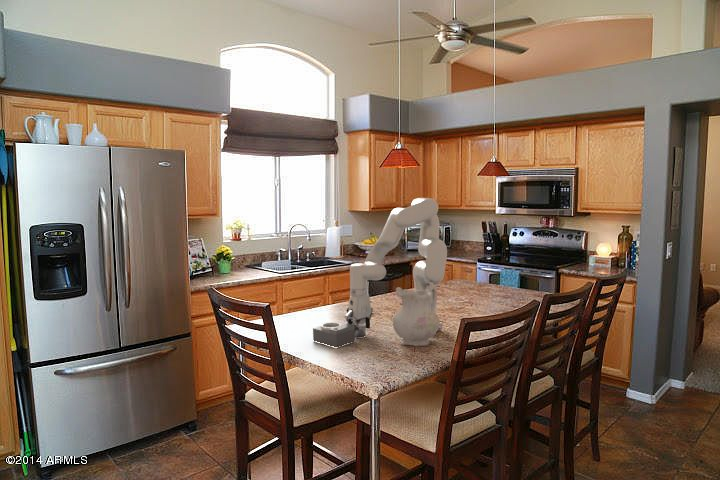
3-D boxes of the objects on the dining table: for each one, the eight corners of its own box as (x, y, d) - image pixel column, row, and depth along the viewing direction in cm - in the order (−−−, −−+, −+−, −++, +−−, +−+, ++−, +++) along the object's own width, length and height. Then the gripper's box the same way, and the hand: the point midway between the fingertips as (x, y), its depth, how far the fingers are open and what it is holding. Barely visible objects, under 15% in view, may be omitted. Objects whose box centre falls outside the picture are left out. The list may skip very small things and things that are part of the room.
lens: (368, 336, 217) (368, 318, 217) (360, 339, 213) (359, 320, 213) (359, 333, 221) (359, 316, 220) (351, 336, 217) (350, 318, 216)
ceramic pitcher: (414, 334, 222) (409, 279, 221) (452, 338, 210) (448, 280, 209) (385, 347, 206) (380, 288, 204) (425, 352, 193) (420, 289, 192)
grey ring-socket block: (354, 342, 209) (354, 323, 208) (336, 348, 201) (335, 329, 200) (331, 336, 219) (331, 318, 218) (313, 342, 211) (312, 323, 210)
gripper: (351, 296, 206) (352, 336, 208) (378, 289, 219) (379, 327, 221) (338, 294, 211) (339, 333, 213) (365, 287, 224) (366, 324, 226)
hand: (359, 330), depth 217 cm, fingers open, 9 cm apart
